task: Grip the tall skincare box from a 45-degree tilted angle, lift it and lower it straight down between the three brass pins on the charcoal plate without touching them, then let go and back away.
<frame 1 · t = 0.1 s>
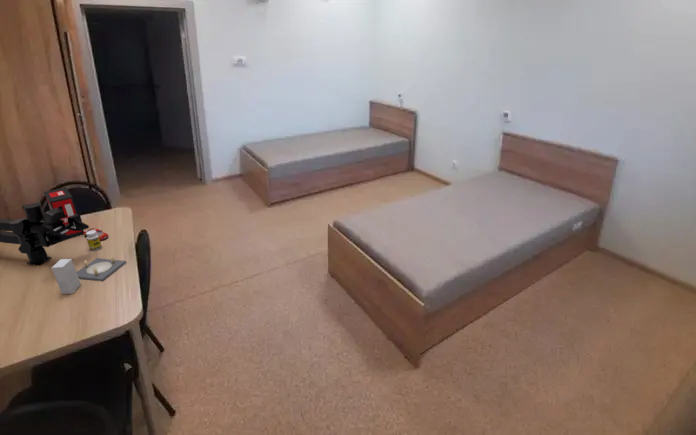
hand: (79, 231, 161), 17 cm above the table, tool horizontal, fingers open, 9 cm apart
race car: (96, 238, 192), on the table
cleaning product box: (70, 232, 197), on the table
pin cradle: (99, 270, 165), on the table
skincare box: (71, 289, 153), on the table
supplement bottle: (96, 248, 182), on the table
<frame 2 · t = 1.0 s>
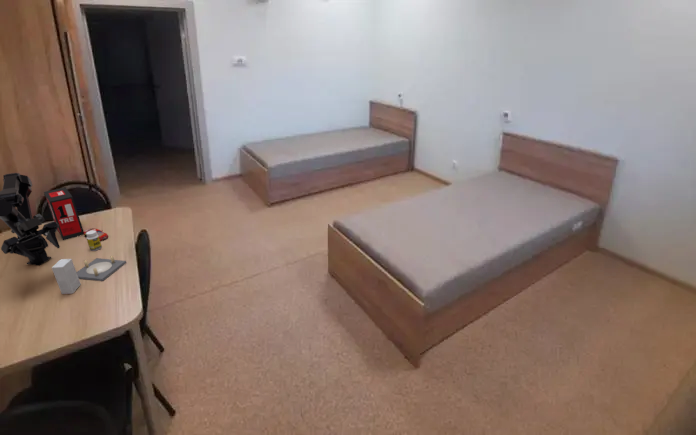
hand: (47, 253, 150), 14 cm above the table, tool tilted 45°, fingers open, 9 cm apart
nothing on the table moved.
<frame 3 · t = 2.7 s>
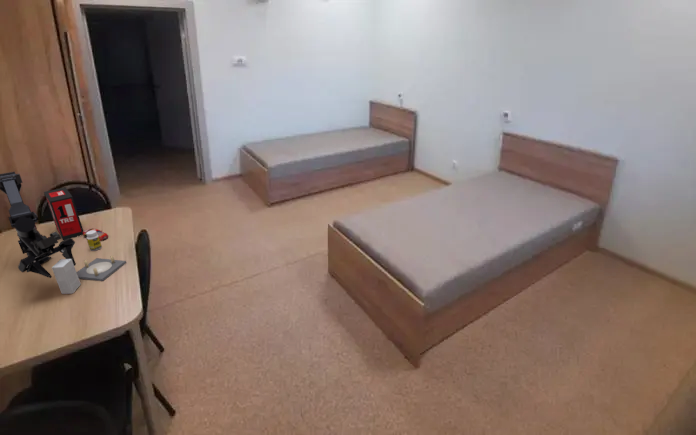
hand: (63, 271, 149), 8 cm above the table, tool tilted 45°, fingers open, 9 cm apart
nothing on the table moved.
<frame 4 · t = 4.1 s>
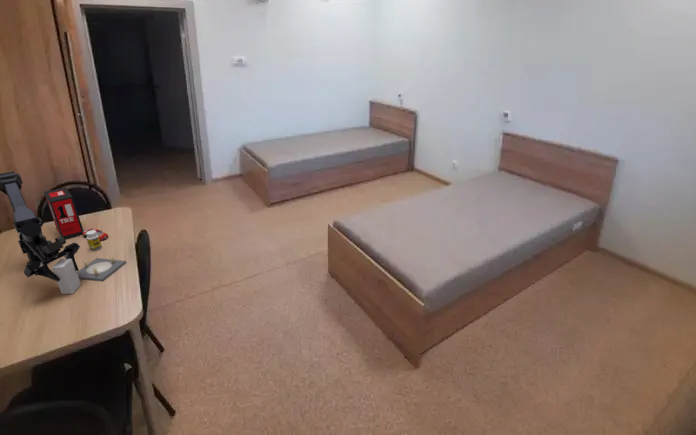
hand: (68, 275, 150), 7 cm above the table, tool tilted 45°, fingers closed on skincare box, 7 cm apart
skincare box: (71, 289, 153), on the table, touching gripper
everything else where it was.
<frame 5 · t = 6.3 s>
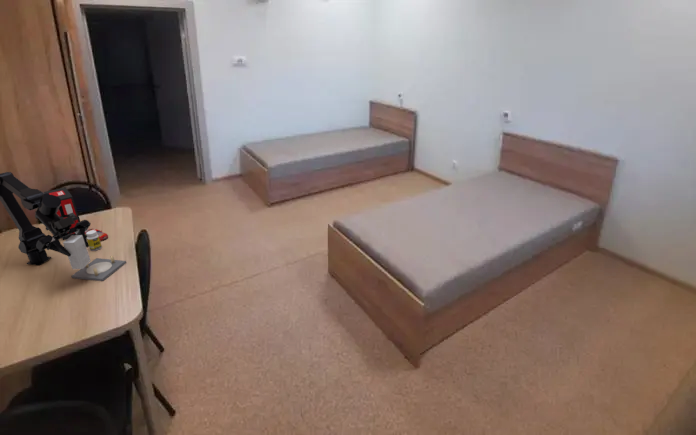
hand: (79, 251, 153), 13 cm above the table, tool tilted 45°, fingers closed on skincare box, 7 cm apart
skincare box: (81, 265, 157), point 6 cm above the table, touching gripper
everything else where it was.
when the fingers open (9 cm above the table, at t = 8.8 s): skincare box stays where it is, resting on pin cradle.
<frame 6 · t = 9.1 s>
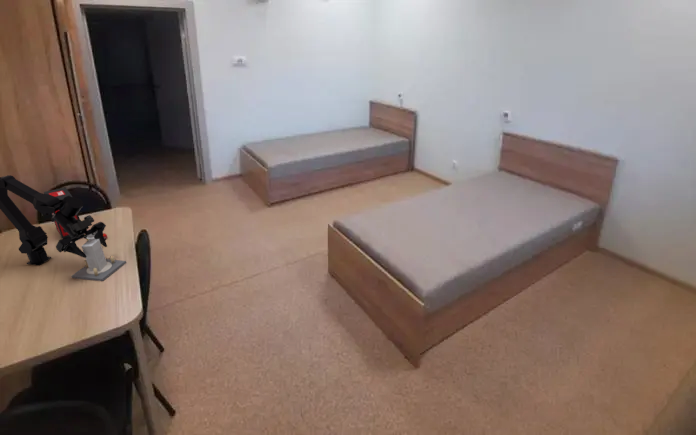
hand: (96, 251, 161), 9 cm above the table, tool tilted 45°, fingers open, 9 cm apart
skincare box: (98, 268, 165), point 1 cm above the table, touching pin cradle
everything else where it was.
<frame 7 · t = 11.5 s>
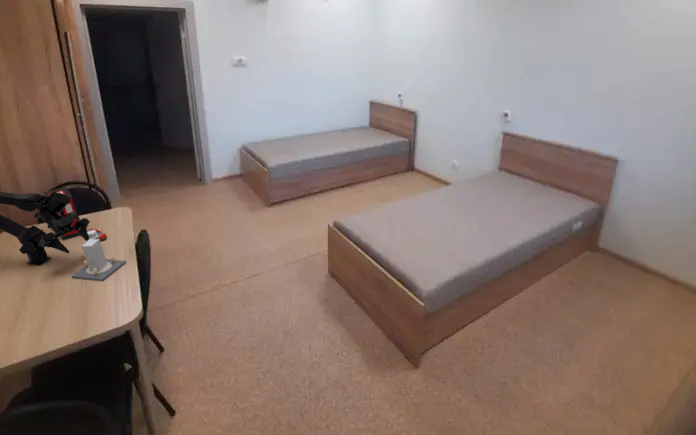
hand: (79, 247, 164), 9 cm above the table, tool tilted 45°, fingers open, 9 cm apart
nothing on the table moved.
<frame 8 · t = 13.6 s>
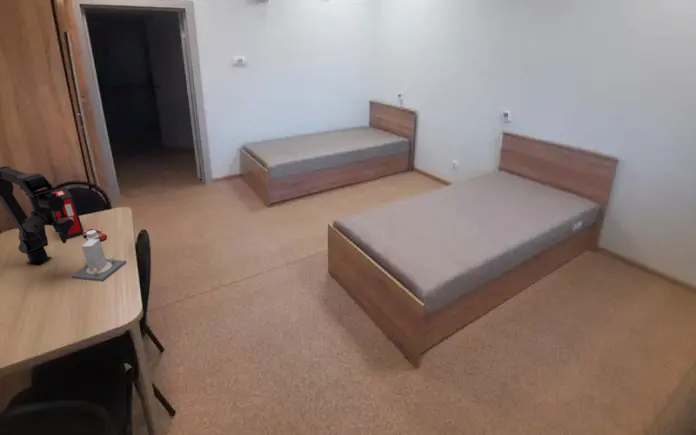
hand: (54, 242, 160), 13 cm above the table, tool pointing down, fingers open, 9 cm apart
nothing on the table moved.
at the end: skincare box 0.2 cm off-centre on the pin cradle, point 1.0 cm above the pin cradle's base; skincare box tilted 0°; the gripper is holding nothing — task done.
